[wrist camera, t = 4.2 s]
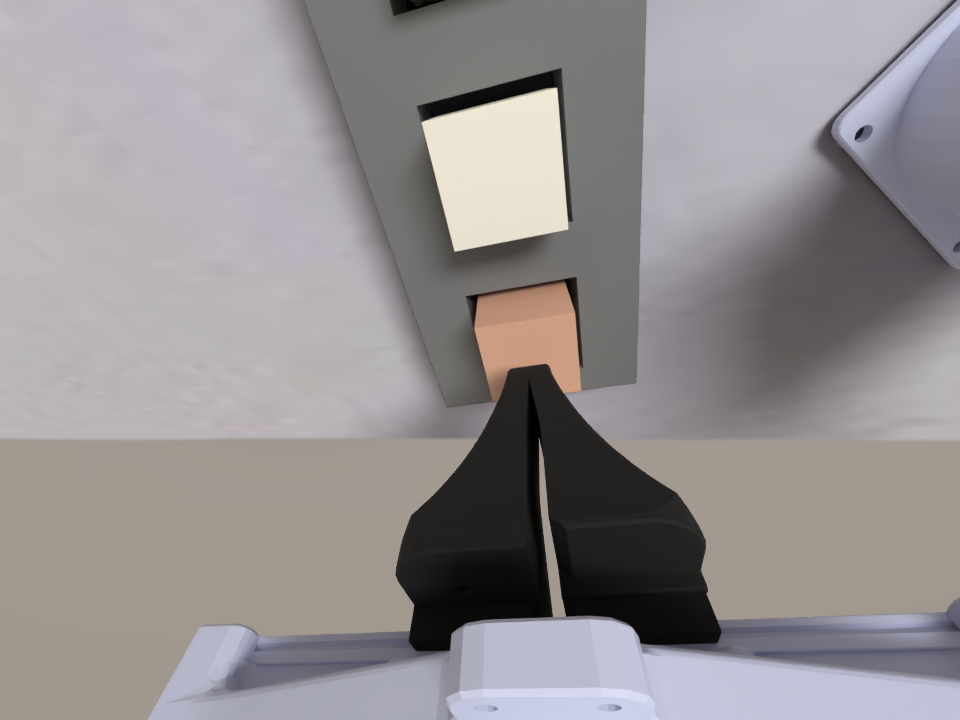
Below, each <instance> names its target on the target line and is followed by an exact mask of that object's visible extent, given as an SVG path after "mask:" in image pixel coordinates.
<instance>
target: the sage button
mask: <svg viewBox="0 0 960 720" xmlns="http://www.w3.org/2000/svg"><path fill="white" fill-rule="evenodd" d="M411 1H412V2H413V3H414V4H415V5H416V6H420V5H423V4H426V3H429V2H433V1H436V0H411Z"/></svg>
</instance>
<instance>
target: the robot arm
mask: <svg viewBox="0 0 960 720" xmlns="http://www.w3.org/2000/svg"><path fill="white" fill-rule="evenodd" d="M861 127H864V131H863V134H862V135H861V136H860V137H859V138H858V139H856V140H855V135H856V133H857V131H858V130H859V129H860V128H861ZM831 134H832V136H833V138H834V139H835V140H836V141H837V142H838V143H839V144H840V145H841V147H842V148H843V149H844V150H845V151H846V152H847V153H848V154H849V155H850V156H851V158H852V159H853V160H854V161H855V162H856V163H857V164H858V165H859V166H860V167H861V168H862V170H863V171H864V172H865V173H866V174H867V175H868V176H869V177H870V178H871V179H872V181H873V182H874V183H875V184H876V185H877V186H878V187H879V188H880V189H881V190H882V191H883V193H884V194H885V195H886V196H887V197H888V198H889V199H890V200H891V201H892V202H893V204H894V205H895V206H896V207H897V208H898V209H899V210H900V211H901V212H902V213H903V214H904V216H905V217H906V218H907V219H908V220H909V221H910V222H911V223H912V224H913V225H914V227H915V228H916V229H917V230H918V231H919V232H920V233H921V234H922V235H923V236H924V238H925V239H926V240H927V241H928V242H929V243H930V244H931V245H932V246H933V247H934V248H935V250H936V251H937V252H938V253H939V254H940V255H941V256H942V257H943V258H944V259H945V261H946V262H947V263H948V264H949V265H950V266H951V267H953V268H955V269H958V270H960V0H957V1H956V2H955V3H954V4H953V5H952V6H951V7H950V8H949V9H948V10H947V11H945V12H944V13H943V14H942V15H941V16H940V17H939V18H938V19H937V20H936V21H935V22H934V23H933V24H932V25H931V26H930V27H929V28H928V29H927V30H926V31H925V32H924V33H923V34H922V35H921V36H920V37H919V38H918V39H917V40H916V41H915V42H914V43H913V44H912V45H911V46H910V47H909V48H908V49H906V50H905V51H904V52H903V53H902V54H901V55H900V56H899V57H898V58H897V59H896V60H895V61H894V62H893V63H892V64H891V65H890V66H889V67H888V68H887V69H886V70H885V71H884V72H883V73H882V74H881V75H880V76H879V77H878V78H877V79H876V80H875V81H874V82H873V83H872V84H871V85H870V86H869V87H868V88H866V89H865V90H864V91H863V92H862V93H861V94H860V95H859V96H858V97H857V98H856V99H855V100H854V101H853V102H852V103H851V104H850V105H849V106H848V107H847V108H846V109H845V110H844V111H843V112H842V113H841V114H840V115H839V116H838V117H837V119H836V120H835V121H834V124H833V126H832V132H831ZM958 242H959V243H958ZM957 243H958V244H957ZM956 244H957V245H956ZM955 245H956V246H955ZM954 246H955V247H954ZM539 439H540V443H541V448H542V452H543V457H544V466H545V478H546V489H547V502H548V515H549V521H550V526H551V532H552V537H553V542H554V548H555V552H556V558H557V563H558V570H559V577H560V586H561V594H562V599H563V603H564V608H565V613H566V617H553V614H552V606H551V597H550V589H549V580H548V571H547V562H546V553H545V544H544V535H543V527H542V518H541V509H540V493H539ZM705 550H706V540H705V538H704V536H703V533H702V531H701V529H700V527H699V525H698V524H697V522H696V521H695V519H694V517H693V515H692V514H691V512H690V511H689V509H688V508H687V506H686V505H685V504H684V502H683V501H682V500H681V498H680V497H679V495H678V494H677V493H676V492H674V491H673V490H671V489H669V488H668V487H666V486H664V485H663V484H661V483H660V482H658V481H657V480H655V479H654V478H652V477H650V476H649V475H648V474H646V473H645V472H643V471H642V470H641V469H639V468H638V467H636V466H635V465H634V464H632V463H631V462H630V461H629V460H627V459H626V458H625V457H624V456H622V455H621V454H620V453H618V451H616V450H615V449H614V448H613V447H611V446H610V445H609V444H608V443H607V442H606V441H605V440H604V439H603V438H602V437H601V436H600V435H599V434H598V433H597V432H596V431H595V430H594V429H593V428H592V427H591V426H590V425H589V424H588V423H587V422H586V421H585V420H584V419H583V417H582V416H581V415H580V414H579V413H578V411H577V410H576V409H575V408H574V406H573V405H572V404H571V403H570V401H569V400H568V398H567V397H566V396H565V394H564V393H563V391H562V390H561V388H560V387H559V385H558V383H557V382H556V380H555V378H554V376H553V374H552V372H551V369H550V366H549V365H547V364H539V365H532V366H525V367H519V368H512V369H510V370H509V371H508V373H507V377H506V381H505V384H504V387H503V390H502V392H501V395H500V397H499V400H498V402H497V404H496V407H495V409H494V411H493V413H492V415H491V417H490V419H489V421H488V423H487V425H486V427H485V429H484V430H483V432H482V434H481V436H480V437H479V439H478V440H477V442H476V443H475V445H474V447H473V448H472V450H471V451H470V452H469V454H468V455H467V457H466V458H465V459H464V461H463V462H462V463H461V465H460V466H459V467H458V468H457V470H456V471H455V472H454V473H453V474H452V476H451V477H450V478H449V479H448V480H447V481H446V482H445V483H444V484H443V486H442V487H441V488H440V489H439V490H438V491H437V492H436V493H435V494H434V495H433V496H432V497H431V498H430V499H429V500H428V501H427V502H426V503H424V504H423V505H422V506H421V507H420V508H419V509H418V510H417V511H416V512H415V513H413V514H412V515H411V518H410V520H409V523H408V525H407V528H406V531H405V534H404V537H403V540H402V544H401V548H400V552H399V557H398V562H397V567H396V577H397V580H398V582H399V583H400V585H401V586H402V588H403V589H404V590H405V592H406V594H407V595H408V596H409V598H410V599H411V601H412V602H413V604H414V611H413V617H412V623H411V629H410V631H408V632H407V631H404V632H378V633H377V632H376V633H349V634H323V635H322V634H320V635H292V636H264V637H259V635H258V634H257V633H256V632H255V631H254V630H253V629H252V628H250V627H248V626H245V625H241V624H217V625H203V626H201V627H199V629H198V631H197V633H196V634H195V636H194V638H193V640H192V642H191V643H190V645H189V647H188V649H187V651H186V652H185V654H184V656H183V658H182V659H181V661H180V663H179V665H178V667H177V668H176V670H175V672H174V674H173V675H172V677H171V679H170V681H169V683H168V684H167V686H166V688H165V690H164V692H163V693H162V695H161V697H160V699H159V700H158V702H157V704H156V706H155V707H154V709H153V711H152V713H151V715H150V717H149V718H148V720H960V598H958V599H956V600H955V601H953V602H952V603H951V605H950V606H949V607H948V609H947V612H936V613H909V614H881V615H852V616H825V617H796V618H772V619H771V618H769V619H742V620H717V619H716V616H715V614H714V611H713V609H712V606H711V604H710V602H709V599H708V597H707V594H706V593H707V592H708V588H707V585H706V582H705V580H704V577H703V575H702V572H701V567H702V562H703V558H704V554H705Z"/></svg>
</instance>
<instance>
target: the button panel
mask: <svg viewBox="0 0 960 720" xmlns="http://www.w3.org/2000/svg"><path fill="white" fill-rule="evenodd" d="M304 2H305V5H306V8H307V11H308V14H309V16H310V19H311V22H312V25H313V28H314V31H315V33H316V36H317V39H318V42H319V45H320V48H321V51H322V53H323V56H324V59H325V62H326V65H327V68H328V71H329V73H330V76H331V79H332V82H333V85H334V88H335V90H336V93H337V96H338V99H339V102H340V105H341V108H342V110H343V113H344V116H345V119H346V122H347V125H348V127H349V130H350V133H351V136H352V139H353V142H354V145H355V147H356V150H357V153H358V156H359V159H360V162H361V165H362V167H363V170H364V173H365V176H366V179H367V182H368V184H369V187H370V190H371V193H372V196H373V199H374V202H375V204H376V207H377V210H378V213H379V216H380V219H381V221H382V224H383V227H384V230H385V233H386V236H387V239H388V241H389V244H390V247H391V250H392V253H393V256H394V259H395V261H396V264H397V267H398V270H399V273H400V276H401V278H402V281H403V284H404V287H405V290H406V293H407V296H408V298H409V301H410V304H411V307H412V310H413V313H414V315H415V318H416V321H417V324H418V327H419V330H420V333H421V335H422V338H423V341H424V344H425V347H426V350H427V353H428V355H429V358H430V361H431V364H432V367H433V370H434V372H435V375H436V378H437V381H438V384H439V387H440V390H441V392H442V395H443V398H444V401H445V404H446V407H454V406H462V405H470V404H478V403H485V402H493V400H492V396H491V392H490V388H489V384H488V380H487V376H486V373H485V369H484V365H483V361H482V357H481V353H480V349H479V345H478V341H477V337H476V333H475V330H474V327H475V318H476V310H477V300H476V296H475V294H481V293H487V292H493V291H498V290H504V289H510V288H515V287H521V286H527V285H532V284H538V283H544V282H550V281H555V280H561V279H567V278H570V288H571V300H572V305H573V308H574V311H575V318H576V331H577V343H578V356H579V368H580V381H581V390H587V389H594V388H602V387H610V386H618V385H626V384H633V383H636V376H637V338H638V300H639V263H640V225H641V188H642V150H643V113H644V75H645V37H646V0H445V1H442V2H439V3H435V4H432V5H429V6H426V7H422V8H419V9H416V10H413V11H409V12H407V9H406V5H405V0H304ZM548 72H552V73H553V84H554V88H557V91H558V104H559V117H560V129H561V142H562V154H563V167H564V180H565V192H566V205H567V217H568V230H563V231H558V232H553V233H548V234H543V235H538V236H533V237H527V238H522V239H517V240H512V241H507V242H502V243H497V244H492V245H487V246H481V247H476V248H471V249H466V250H461V251H456V252H455V251H454V247H453V244H452V240H451V236H450V232H449V228H448V224H447V220H446V216H445V212H444V208H443V204H442V201H441V197H440V193H439V189H438V185H437V181H436V177H435V173H434V169H433V165H432V161H431V158H430V154H429V150H428V146H427V142H426V138H425V134H424V130H423V126H422V122H424V121H426V120H429V119H431V118H433V117H432V113H431V109H430V105H429V104H430V103H434V102H437V101H441V100H445V99H449V98H453V97H456V96H460V95H464V94H468V93H472V92H475V91H479V90H483V89H487V88H491V87H494V86H498V85H502V84H506V83H510V82H514V81H517V80H521V79H525V78H529V77H533V76H536V75H540V74H544V73H548Z"/></svg>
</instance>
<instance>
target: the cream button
mask: <svg viewBox="0 0 960 720" xmlns="http://www.w3.org/2000/svg"><path fill="white" fill-rule="evenodd" d="M422 126H423V130H424V134H425V138H426V142H427V146H428V150H429V154H430V158H431V161H432V165H433V169H434V173H435V177H436V181H437V185H438V189H439V193H440V197H441V201H442V204H443V208H444V212H445V216H446V220H447V224H448V228H449V232H450V236H451V240H452V244H453V247H454V251H455V252H456V251H461V250H466V249H471V248H476V247H481V246H487V245H492V244H497V243H502V242H507V241H512V240H517V239H522V238H527V237H533V236H538V235H543V234H548V233H553V232H558V231H563V230H568V217H567V205H566V192H565V180H564V167H563V154H562V142H561V129H560V117H559V104H558V91H557V88H545V89H541V90H537V91H533V92H529V93H525V94H522V95H518V96H514V97H510V98H506V99H502V100H498V101H494V102H490V103H486V104H482V105H479V106H475V107H471V108H467V109H463V110H459V111H455V112H451V113H447V114H443V115H439V116H436V117H434V118H431V119H429V120H426V121H424V122H422Z"/></svg>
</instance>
